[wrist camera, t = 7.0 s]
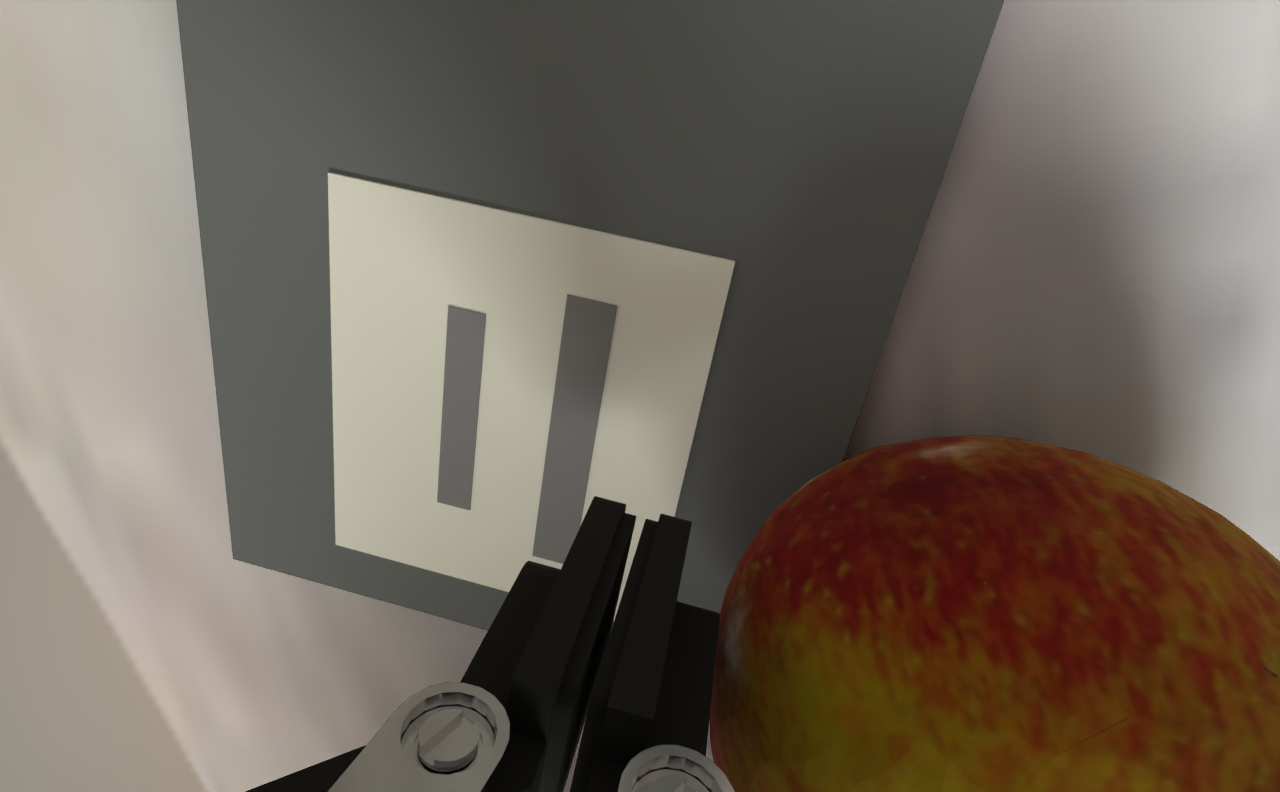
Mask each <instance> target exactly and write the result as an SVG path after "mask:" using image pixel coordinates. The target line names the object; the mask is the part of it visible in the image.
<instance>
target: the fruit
mask: <svg viewBox="0 0 1280 792" xmlns="http://www.w3.org/2000/svg"><path fill="white" fill-rule="evenodd" d="M709 718H710V739H711V747H712V753H713V760H714V764H715V765H716V766H717V767H718V768H719V769H720V770H721V771H722V772H723V773H724V774H725V775H726V777H727V779H728V781H729V782H730V784H731V786H732V787H733V789H734V792H1280V561H1279V560H1278V559H1276V558H1275V557H1274V556H1273V555H1272V554H1270V553H1269V552H1268V551H1267V550H1266V549H1264V548H1263V547H1262V546H1261V545H1260V544H1258V543H1257V542H1256V541H1255V540H1254V539H1252V538H1251V537H1250V536H1249V535H1248V534H1246V533H1245V532H1244V531H1242V530H1241V529H1240V528H1238V527H1237V526H1235V525H1234V524H1233V523H1231V522H1230V521H1229V520H1227V519H1226V518H1225V517H1223V516H1222V515H1221V514H1219V513H1217V512H1215V511H1213V510H1212V509H1210V508H1208V507H1206V506H1204V505H1203V504H1201V503H1199V502H1197V501H1195V500H1194V499H1192V498H1190V497H1188V496H1186V495H1185V494H1183V493H1181V492H1179V491H1177V490H1175V489H1173V488H1172V487H1170V486H1168V485H1166V484H1164V483H1162V482H1160V481H1158V480H1155V479H1153V478H1151V477H1148V476H1146V475H1143V474H1141V473H1139V472H1136V471H1134V470H1131V469H1129V468H1127V467H1124V466H1121V465H1118V464H1115V463H1112V462H1110V461H1107V460H1104V459H1101V458H1098V457H1095V456H1092V455H1089V454H1087V453H1083V452H1079V451H1074V450H1069V449H1064V448H1059V447H1055V446H1050V445H1045V444H1040V443H1035V442H1031V441H1026V440H1021V439H1015V438H1001V437H986V436H958V437H943V438H927V439H920V440H915V441H909V442H904V443H898V444H893V445H887V446H881V447H876V448H873V449H871V450H868V451H866V452H863V453H861V454H858V455H856V456H853V457H851V458H848V459H847V460H845V461H843V462H841V463H840V464H838V465H836V466H834V467H833V468H831V469H829V470H827V471H825V472H824V473H822V474H820V475H818V476H817V477H815V478H813V479H811V480H810V481H809V482H808V483H806V484H805V485H804V486H803V487H802V488H800V489H799V490H798V491H797V492H796V493H794V494H793V495H792V496H791V497H790V498H788V499H787V500H786V501H785V502H784V503H782V504H781V505H780V506H779V507H778V508H776V509H775V510H774V511H773V512H772V514H771V515H770V516H769V518H768V519H767V520H766V522H765V523H764V524H763V526H762V527H761V528H760V529H759V531H758V532H757V534H756V536H755V537H754V539H753V540H752V542H751V543H750V545H749V546H748V548H747V549H746V551H745V553H744V554H743V556H742V557H741V559H740V560H739V562H738V564H737V567H736V569H735V571H734V574H733V576H732V578H731V581H730V583H729V585H728V587H727V590H726V592H725V596H724V599H723V603H722V607H721V611H720V621H719V632H718V641H717V651H716V660H715V670H714V679H713V689H712V698H711V708H710V717H709Z"/></svg>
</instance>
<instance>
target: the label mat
mask: <svg viewBox="0 0 1280 792" xmlns="http://www.w3.org/2000/svg"><path fill="white" fill-rule="evenodd" d="M176 1H177V11H178V21H179V31H180V41H181V51H182V60H183V70H184V80H185V90H186V100H187V110H188V119H189V129H190V139H191V149H192V159H193V169H194V178H195V188H196V198H197V208H198V218H199V227H200V237H201V247H202V257H203V267H204V277H205V286H206V296H207V306H208V316H209V326H210V336H211V345H212V355H213V365H214V375H215V385H216V395H217V404H218V414H219V424H220V434H221V444H222V454H223V463H224V473H225V483H226V493H227V503H228V513H229V522H230V532H231V542H232V552H233V559H236V560H239V561H243V562H246V563H250V564H253V565H257V566H260V567H264V568H268V569H271V570H275V571H278V572H282V573H285V574H289V575H293V576H296V577H300V578H303V579H307V580H310V581H314V582H317V583H321V584H325V585H328V586H332V587H335V588H339V589H342V590H346V591H350V592H353V593H357V594H360V595H364V596H367V597H371V598H375V599H378V600H382V601H385V602H389V603H392V604H396V605H399V606H403V607H407V608H410V609H414V610H417V611H421V612H424V613H428V614H432V615H435V616H439V617H442V618H446V619H449V620H453V621H457V622H460V623H464V624H467V625H471V626H474V627H478V628H481V629H485V630H489V628H490V627H491V625H492V623H493V621H494V619H495V617H496V615H497V614H498V612H499V610H500V608H501V606H502V604H503V602H504V601H505V599H506V597H507V595H508V593H509V591H510V590H511V588H512V586H513V584H514V582H515V580H516V578H517V577H518V575H519V573H520V571H521V569H522V568H523V566H524V564H525V563H526V562H527V561H532V562H536V563H539V564H543V565H547V566H550V567H554V568H557V569H561V568H562V566H563V564H564V561H565V559H566V557H567V555H568V553H569V550H570V548H571V546H572V544H573V542H574V539H575V537H576V535H577V533H578V531H579V528H580V526H581V524H582V522H583V520H584V518H585V515H586V513H587V511H588V509H589V507H590V504H591V502H592V500H593V498H594V497H595V496H597V497H601V498H605V499H608V500H612V501H616V502H620V503H624V504H626V511H625V513H627V514H631V515H635V516H636V521H635V526H634V530H633V535H632V539H631V544H630V548H629V553H628V557H627V562H626V566H625V571H624V575H623V580H622V584H621V589H620V593H619V598H618V602H617V607H616V611H615V616H614V620H615V617H616V614H617V610H618V607H619V604H620V601H621V597H622V594H623V591H624V588H625V585H626V581H627V578H628V575H629V572H630V568H631V565H632V562H633V559H634V555H635V552H636V549H637V546H638V542H639V539H640V536H641V533H642V529H643V526H644V523H645V520H646V519H650V520H653V521H657V522H658V521H659V517H660V514H665V515H669V516H673V517H677V518H680V519H684V520H688V521H692V525H691V530H690V535H689V540H688V546H687V551H686V556H685V561H684V566H683V571H682V576H681V581H680V586H679V592H678V597H677V601H678V602H681V603H685V604H689V605H692V606H696V607H700V608H703V609H707V610H710V611H714V612H718V613H719V614H720V611H721V607H722V603H723V599H724V596H725V592H726V590H727V587H728V585H729V583H730V581H731V578H732V576H733V574H734V571H735V569H736V567H737V564H738V562H739V560H740V559H741V557H742V556H743V554H744V553H745V551H746V549H747V548H748V546H749V545H750V543H751V542H752V540H753V539H754V537H755V536H756V534H757V532H758V531H759V529H760V528H761V527H762V526H763V524H764V523H765V522H766V520H767V519H768V518H769V516H770V515H771V514H772V512H773V511H774V510H775V509H776V508H778V507H779V506H780V505H781V504H782V503H784V502H785V501H786V500H787V499H788V498H790V497H791V496H792V495H793V494H794V493H796V492H797V491H798V490H799V489H800V488H802V487H803V486H804V485H805V484H806V483H808V482H809V481H810V480H811V479H813V478H815V477H817V476H818V475H820V474H822V473H824V472H825V471H827V470H829V469H831V468H833V467H834V466H836V465H838V464H840V463H841V462H842V461H843V458H844V455H845V452H846V449H847V446H848V443H849V441H850V438H851V435H852V432H853V429H854V426H855V424H856V421H857V418H858V415H859V412H860V409H861V406H862V404H863V401H864V398H865V395H866V392H867V389H868V387H869V384H870V381H871V378H872V375H873V372H874V369H875V367H876V364H877V361H878V358H879V355H880V352H881V350H882V347H883V344H884V341H885V338H886V335H887V332H888V330H889V327H890V324H891V321H892V318H893V315H894V313H895V310H896V307H897V304H898V301H899V298H900V295H901V293H902V290H903V287H904V284H905V281H906V278H907V276H908V273H909V270H910V267H911V264H912V261H913V258H914V256H915V253H916V250H917V247H918V244H919V241H920V239H921V236H922V233H923V230H924V227H925V224H926V221H927V219H928V216H929V213H930V210H931V207H932V204H933V202H934V199H935V196H936V193H937V190H938V187H939V184H940V182H941V179H942V176H943V173H944V170H945V167H946V165H947V162H948V159H949V156H950V153H951V150H952V147H953V145H954V142H955V139H956V136H957V133H958V130H959V128H960V125H961V122H962V119H963V116H964V113H965V110H966V108H967V105H968V102H969V99H970V96H971V93H972V91H973V88H974V85H975V82H976V79H977V76H978V73H979V71H980V68H981V65H982V62H983V59H984V56H985V54H986V51H987V48H988V45H989V42H990V39H991V36H992V34H993V31H994V28H995V25H996V22H997V19H998V17H999V14H1000V11H1001V8H1002V5H1003V2H1004V0H176ZM614 620H613V623H614ZM612 627H613V625H612ZM611 630H612V629H611Z"/></svg>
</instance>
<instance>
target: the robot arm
mask: <svg viewBox="0 0 1280 792" xmlns="http://www.w3.org/2000/svg"><path fill="white" fill-rule="evenodd" d="M625 511H626V504H624V503H620V502H616V501H612V500H608V499H605V498H601V497H597V496H595V497H594V498H593V500H592V502H591V504H590V507H589V509H588V511H587V513H586V515H585V518H584V520H583V522H582V524H581V526H580V528H579V531H578V533H577V535H576V537H575V539H574V542H573V544H572V546H571V548H570V550H569V553H568V555H567V557H566V559H565V561H564V564H563V566H562V568H561V569H557V568H554V567H550V566H547V565H543V564H539V563H536V562H532V561H527V562H526V563H525V564H524V566H523V568H522V569H521V571H520V573H519V575H518V577H517V578H516V580H515V582H514V584H513V586H512V588H511V590H510V591H509V593H508V595H507V597H506V599H505V601H504V602H503V604H502V606H501V608H500V610H499V612H498V614H497V615H496V617H495V619H494V621H493V623H492V625H491V627H490V628H489V630H488V632H487V634H486V636H485V638H484V639H483V641H482V643H481V645H480V647H479V649H478V651H477V652H476V654H475V656H474V658H473V660H472V662H471V664H470V665H469V667H468V669H467V671H466V673H465V675H464V676H463V678H462V680H461V682H460V683H449V682H446V683H442V684H438V685H433V686H429V687H427V688H425V689H423V690H421V691H419V692H417V693H415V694H413V695H412V696H411V697H409V698H408V699H407V700H406V701H405V702H404V703H403V704H402V705H401V706H399V707H398V709H397V710H396V711H395V712H394V713H393V714H392V716H391V717H390V718H389V719H388V720H387V722H386V723H385V724H384V725H383V726H382V728H381V729H380V730H379V731H378V732H377V734H376V735H375V736H374V737H373V738H372V739H371V741H370V742H369V743H368V744H367V745H365V746H363V747H360V748H358V749H355V750H352V751H350V752H347V753H345V754H342V755H339V756H337V757H334V758H332V759H329V760H326V761H324V762H321V763H319V764H316V765H313V766H311V767H308V768H306V769H303V770H300V771H298V772H295V773H292V774H290V775H287V776H285V777H282V778H279V779H277V780H274V781H272V782H269V783H266V784H264V785H261V786H259V787H256V788H253V789H251V790H248V791H246V792H563V791H564V787H565V784H566V781H567V778H568V774H569V771H570V768H571V765H572V761H573V758H574V755H575V751H576V748H577V745H578V742H579V738H580V735H581V732H582V729H583V725H584V722H585V725H584V730H583V734H582V739H581V743H580V748H579V753H578V757H577V762H576V766H575V771H574V776H573V780H572V785H571V789H570V792H734V789H733V787H732V786H731V784H730V782H729V781H728V779H727V777H726V775H725V774H724V773H723V772H722V771H721V770H720V769H719V768H718V767H717V766H716V765H715V764H714V762H713V761H712V760H710V759H709V758H707V757H705V755H706V746H707V736H708V727H709V717H710V708H711V698H712V689H713V679H714V670H715V660H716V651H717V641H718V632H719V621H720V614H719V613H718V612H714V611H710V610H707V609H703V608H700V607H696V606H692V605H689V604H685V603H681V602H678V601H677V597H678V592H679V586H680V581H681V576H682V571H683V566H684V561H685V556H686V551H687V546H688V540H689V535H690V530H691V525H692V521H688V520H684V519H680V518H677V517H673V516H669V515H665V514H660V517H659V521H658V522H657V521H653V520H650V519H646V520H645V523H644V526H643V529H642V533H641V536H640V539H639V542H638V546H637V549H636V552H635V555H634V559H633V562H632V565H631V568H630V572H629V575H628V578H627V581H626V585H625V588H624V591H623V594H622V597H621V601H620V604H619V607H618V610H617V614H616V617H615V620H614V616H615V611H616V607H617V602H618V598H619V593H620V589H621V584H622V580H623V575H624V571H625V566H626V562H627V557H628V553H629V548H630V544H631V539H632V535H633V530H634V526H635V521H636V516H635V515H631V514H627V513H625ZM613 620H614V623H613ZM612 625H613V627H612ZM611 629H612V630H611ZM585 719H586V720H585Z"/></svg>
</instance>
